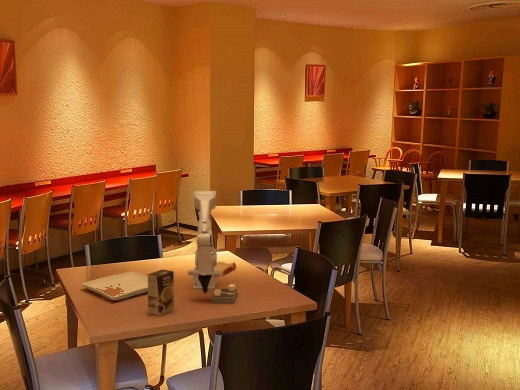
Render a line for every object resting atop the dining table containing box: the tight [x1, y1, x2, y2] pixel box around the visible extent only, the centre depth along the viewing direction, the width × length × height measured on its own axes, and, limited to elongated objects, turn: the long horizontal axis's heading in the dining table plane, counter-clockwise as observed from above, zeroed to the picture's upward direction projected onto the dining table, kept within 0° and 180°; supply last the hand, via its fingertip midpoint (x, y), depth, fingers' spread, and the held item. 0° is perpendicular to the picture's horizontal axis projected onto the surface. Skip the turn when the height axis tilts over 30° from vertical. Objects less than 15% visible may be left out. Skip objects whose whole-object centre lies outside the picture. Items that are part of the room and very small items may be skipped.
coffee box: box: [147, 269, 175, 317], centre depth 238 cm, size 9×6×16 cm
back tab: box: [228, 283, 236, 291], centre depth 257 cm, size 2×3×2 cm
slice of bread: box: [214, 261, 237, 278], centre depth 296 cm, size 18×18×4 cm
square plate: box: [81, 271, 148, 301], centre depth 266 cm, size 27×27×4 cm
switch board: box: [211, 287, 238, 305], centre depth 254 cm, size 9×13×3 cm
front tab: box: [213, 288, 221, 296], centre depth 251 cm, size 2×3×2 cm
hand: (205, 292), depth 251 cm, fingers closed
